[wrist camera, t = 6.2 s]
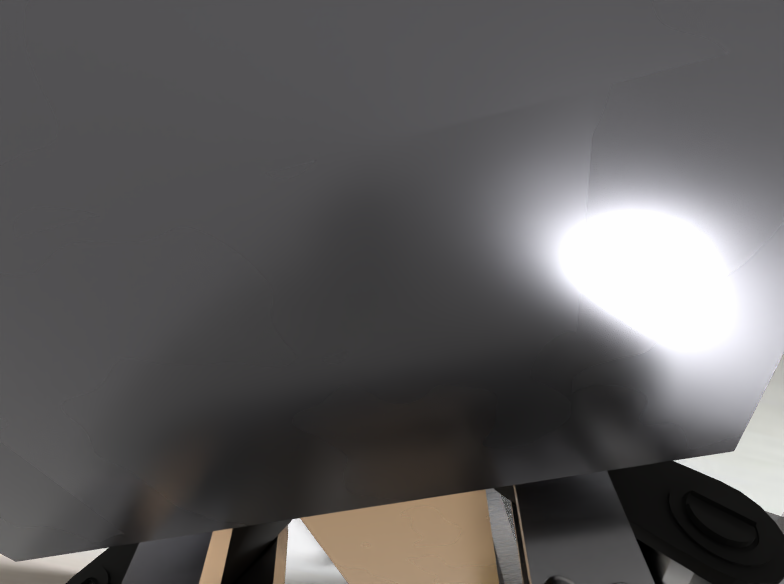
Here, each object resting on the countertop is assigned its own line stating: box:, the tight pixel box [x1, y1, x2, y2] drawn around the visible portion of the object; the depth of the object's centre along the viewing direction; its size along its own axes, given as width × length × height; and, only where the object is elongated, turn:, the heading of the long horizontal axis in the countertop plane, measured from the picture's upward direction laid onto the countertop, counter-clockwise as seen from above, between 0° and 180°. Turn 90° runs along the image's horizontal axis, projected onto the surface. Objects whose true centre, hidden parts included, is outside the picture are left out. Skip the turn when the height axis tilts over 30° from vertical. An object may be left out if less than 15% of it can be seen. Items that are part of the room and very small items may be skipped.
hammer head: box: [0, 0, 784, 562], centre depth 5 cm, size 9×5×7 cm, turn 103°
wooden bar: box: [300, 490, 499, 584], centre depth 9 cm, size 4×17×4 cm, turn 13°
